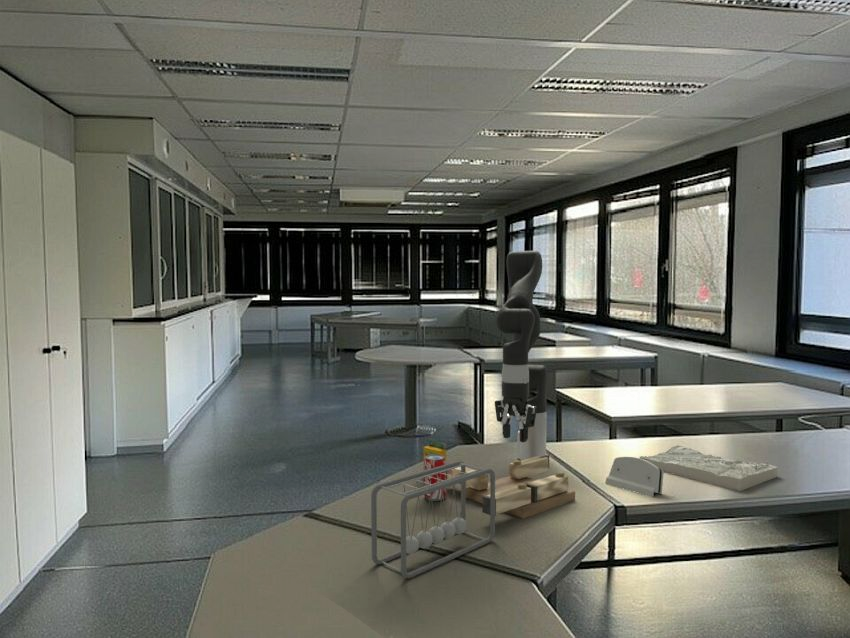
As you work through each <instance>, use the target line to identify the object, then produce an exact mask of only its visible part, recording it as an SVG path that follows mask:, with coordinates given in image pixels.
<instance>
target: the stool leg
mask: <svg viewBox="0 0 850 638" xmlns="http://www.w3.org/2000/svg"><path fill="white" fill-rule="evenodd" d="M535 480H536V481H533V482H529V483H524V484H527V487H529V488H531V501H533V502H537V501H538V500H541V499H544V498H547V497H550V496H553V495H556V494H559V493H562V492H565V491H568V489H569V476H568V475H565V472H562V471H556V472H555V474H553V475H549V476H547V477H542V478H539V479H535Z"/></svg>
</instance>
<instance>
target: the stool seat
mask: <svg viewBox="0 0 850 638" xmlns="http://www.w3.org/2000/svg"><path fill="white" fill-rule="evenodd" d="M465 468H466V473H469V472H472V471H476V470H477V469H474V468H471V467H467V466H465ZM549 469H550V455H548V454H546V455H545V456H536V457H532V458H529V459H525V460H520V459H515V460H513V462H511V463H509V475H507V476H505V477H500V478H496V479H495V517H496V516H497V515H499V514H501V513H502V514H503V513H506V514H510V515H512V516H516V517H518V518H520V519H526V518H529V517H531V516H535V515H538V514H541V513H543V512H546V511H548V510H552V509H554V508H556V507H560V506H562V505H565V504H568V503H570V502H574V501H576V491H574V490H572V489H569V488H568V491H565V492H562V493H559V494H556V495H553V496H550V497H547V498H544V499H541V500H538V501H537V502H533V501H531V488H529V487H527V484H524V483H529V482H533V481H536V480H537V479H535V478H532V477H531V476H535V475H538V474H541V473H545V472H549ZM454 470H456V471H454ZM458 471H459V472H458ZM481 471H482V470H481ZM478 472H479V471H478ZM446 474H447V475H446V480H447V479H450V478H452V476H454V477H457V476H460V475H461V467H458V468H455V469H452V474H451V470H448V471H446ZM449 475H450V476H449ZM454 477H453V478H454ZM459 478H460V477H459ZM456 479H457V478H456ZM453 480H454V479H453ZM488 480H489V473H488V474H485V475H482V476H479V477H476V478H473V479H470V480H467V481H466V499H469V500H471V501H475V502H477V503H480V504H482V507H481V508H482V513H483V514H486V515H489V516H490V481H488ZM458 484H459V485H461V483H458Z"/></svg>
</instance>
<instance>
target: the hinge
mask: <svg viewBox="0 0 850 638" xmlns="http://www.w3.org/2000/svg"><path fill="white" fill-rule="evenodd" d="M664 474H665V473H664V471H663V470H662V469H661V468H659V467H658V466H656V465H655V464H653V463H651V462H649V461H646V460H643V459H640V457H635V456H619V457H615V458H614V459H613V463H612V465H611V467H610V472H609V473H608V476H606V480H605V482H604V483H606V484H607V485H609V486H612V485H613V486H612V487H616V486H617V487H616V488H619V487H620V488H619V489H623V488H624V489H623V490H626V489H627V490H626V491H629V490H631V491H630V492H633V491H635V492H634V493H636V492H638V493H637V494H640V493H641V494H640V495H643V494H644V496H646V495H647V497H650V498H653V497H654V493H656V494H659V495H661V494H663V486H664Z"/></svg>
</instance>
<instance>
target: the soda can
mask: <svg viewBox="0 0 850 638" xmlns="http://www.w3.org/2000/svg"><path fill="white" fill-rule="evenodd" d="M446 464H447V460H446V461H445V458H444V456H442V455H428V456H426V459H425V461H424V460H423V471H425V470H429V469H432V468H436V467H439V466H442V465H446ZM442 473H443V474H442ZM440 474H441V478H440ZM445 474H446V471H445V472H441V473H438V474H435V475H431V476H430V477H429V479H428V477H425V478H423V480H424V481H423V483H424V482H425V483H424V485H423V487H425V486H428V485H429V484H427V483H429V481H430V484H435V483H438V482H441V481H442V480H443V481H444V480H446V475H445ZM432 477H433V478H432ZM435 478H436V479H435ZM438 479H440V480H438ZM434 486H435V485H434ZM428 488H429V487H428ZM425 489H426V488H425ZM423 496H424V497H425V498H426V499H427V500H428V501H429V500H430V501H431V498H430V493H428V494H425V495H423ZM431 496H432V501H431V502H439V501H441V496H442V500H443V496H444V498H446V497H447V487H446V488H443V494H442V489H440V490H437V491H434V492H431Z"/></svg>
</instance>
